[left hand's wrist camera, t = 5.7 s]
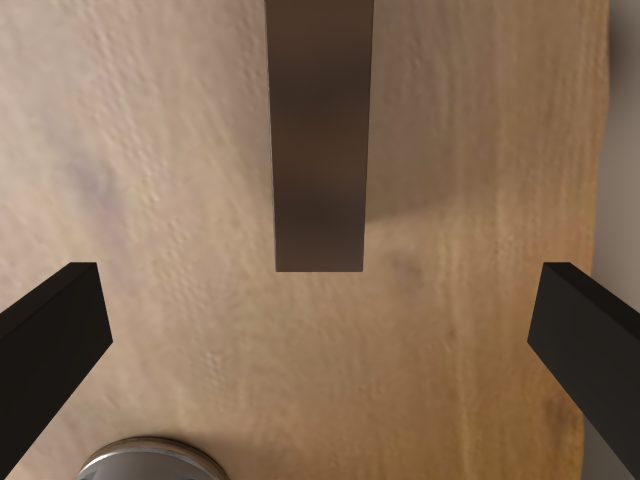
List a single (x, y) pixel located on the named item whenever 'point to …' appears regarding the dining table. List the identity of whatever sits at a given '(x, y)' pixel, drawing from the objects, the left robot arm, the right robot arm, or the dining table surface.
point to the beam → (319, 130)
